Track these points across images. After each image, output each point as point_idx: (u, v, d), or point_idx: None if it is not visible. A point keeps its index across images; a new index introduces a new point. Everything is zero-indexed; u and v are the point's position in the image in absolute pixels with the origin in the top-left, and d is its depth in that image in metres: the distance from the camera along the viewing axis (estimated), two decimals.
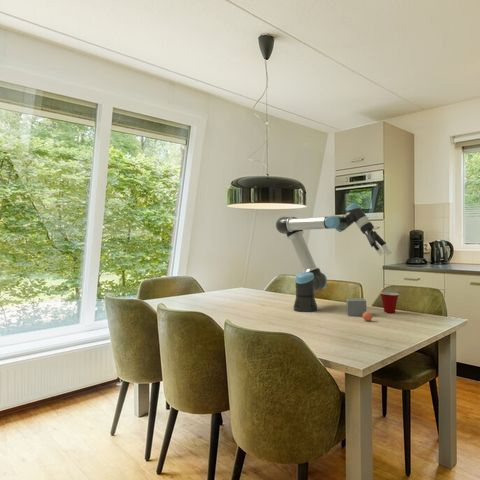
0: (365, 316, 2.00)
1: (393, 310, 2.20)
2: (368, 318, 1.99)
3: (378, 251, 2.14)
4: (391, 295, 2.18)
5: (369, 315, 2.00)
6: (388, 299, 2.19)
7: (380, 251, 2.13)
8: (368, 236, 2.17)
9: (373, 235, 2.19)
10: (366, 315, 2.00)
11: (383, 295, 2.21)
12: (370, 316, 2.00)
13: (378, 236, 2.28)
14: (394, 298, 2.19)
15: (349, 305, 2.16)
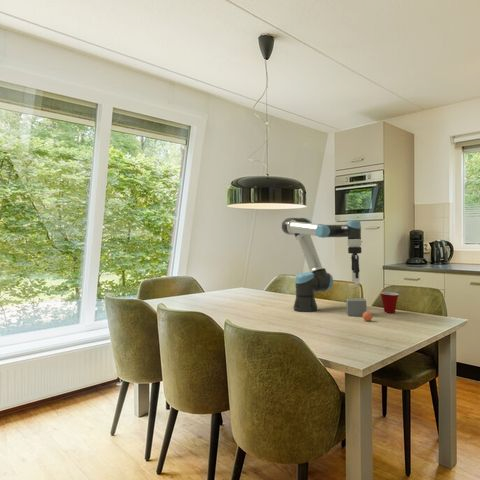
0: (365, 316, 2.00)
1: (393, 310, 2.20)
2: (368, 318, 1.99)
3: (355, 280, 2.13)
4: (391, 295, 2.18)
5: (369, 315, 2.00)
6: (388, 299, 2.19)
7: (357, 280, 2.13)
8: (356, 261, 2.13)
9: None
10: (366, 315, 2.00)
11: (383, 295, 2.21)
12: (370, 316, 2.00)
13: None
14: (394, 298, 2.19)
15: (349, 305, 2.16)
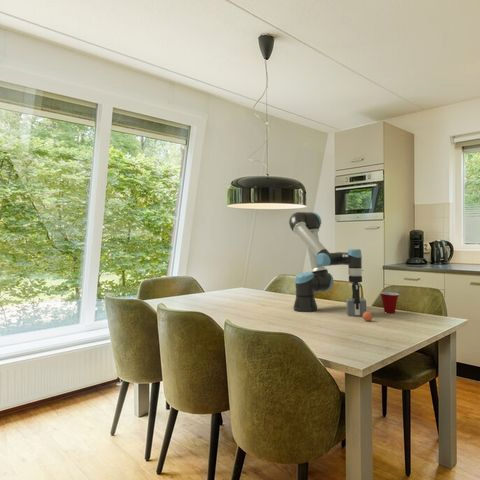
0: (365, 316, 2.00)
1: (393, 310, 2.20)
2: (368, 318, 1.99)
3: (356, 310, 2.15)
4: (391, 295, 2.18)
5: (369, 315, 2.00)
6: (388, 299, 2.19)
7: (358, 311, 2.14)
8: (356, 292, 2.13)
9: None
10: (366, 315, 2.00)
11: (383, 295, 2.21)
12: (370, 316, 2.00)
13: None
14: (394, 298, 2.19)
15: (349, 305, 2.16)
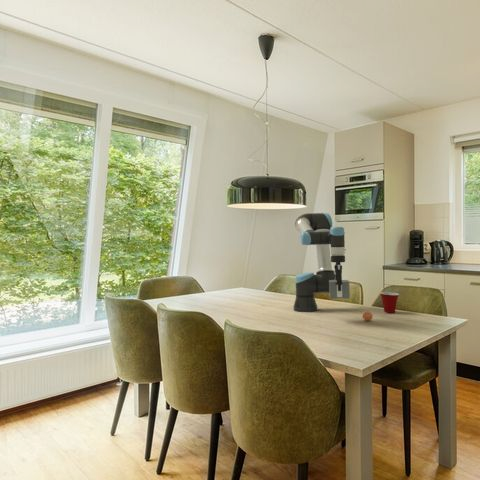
0: (365, 316, 2.00)
1: (393, 310, 2.20)
2: (368, 318, 1.99)
3: (338, 292, 1.99)
4: (391, 295, 2.18)
5: (369, 315, 2.00)
6: (388, 299, 2.19)
7: (340, 293, 1.99)
8: (338, 272, 1.98)
9: (341, 272, 2.01)
10: (366, 315, 2.00)
11: (383, 295, 2.21)
12: (370, 316, 2.00)
13: None
14: (394, 298, 2.19)
15: (331, 287, 2.01)
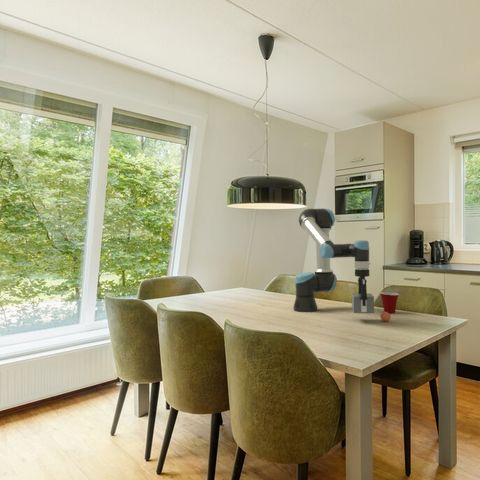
0: (388, 319, 1.97)
1: (393, 310, 2.20)
2: (386, 316, 1.97)
3: (362, 307, 1.97)
4: (391, 295, 2.18)
5: (383, 318, 1.98)
6: (388, 299, 2.19)
7: (364, 308, 1.97)
8: (363, 287, 1.95)
9: None
10: (386, 319, 1.98)
11: (383, 295, 2.21)
12: (383, 316, 1.98)
13: None
14: (394, 298, 2.19)
15: (355, 301, 1.98)
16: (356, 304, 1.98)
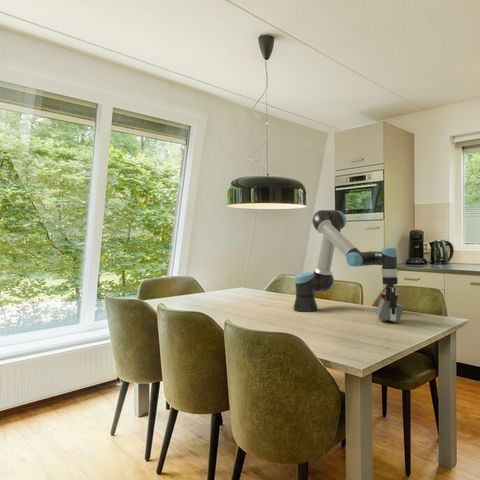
0: None
1: None
2: None
3: (391, 316, 1.94)
4: None
5: (382, 319, 1.98)
6: None
7: (394, 316, 1.93)
8: (393, 295, 1.92)
9: None
10: (385, 319, 1.98)
11: (383, 295, 2.21)
12: (381, 318, 1.98)
13: None
14: None
15: (384, 306, 1.95)
16: (384, 309, 1.95)
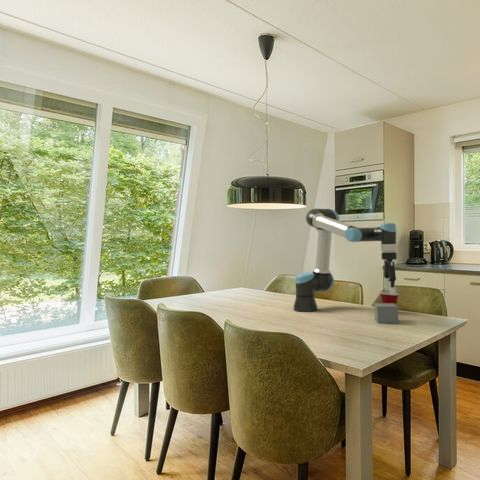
0: None
1: None
2: None
3: (391, 289, 1.93)
4: (391, 295, 2.18)
5: None
6: (388, 299, 2.19)
7: (393, 290, 1.93)
8: (392, 268, 1.92)
9: None
10: None
11: (383, 295, 2.21)
12: None
13: None
14: (394, 298, 2.19)
15: (379, 311, 1.96)
16: (380, 314, 1.95)
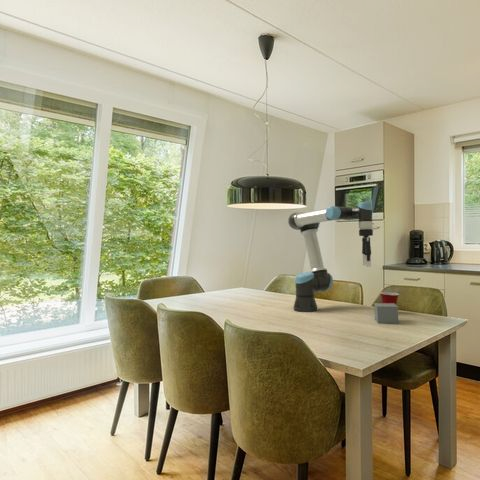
0: None
1: None
2: None
3: (367, 262, 2.07)
4: (391, 295, 2.18)
5: None
6: (388, 299, 2.19)
7: (369, 263, 2.07)
8: (367, 243, 2.07)
9: None
10: None
11: (383, 295, 2.21)
12: None
13: None
14: (394, 298, 2.19)
15: (379, 311, 1.96)
16: (380, 314, 1.95)
